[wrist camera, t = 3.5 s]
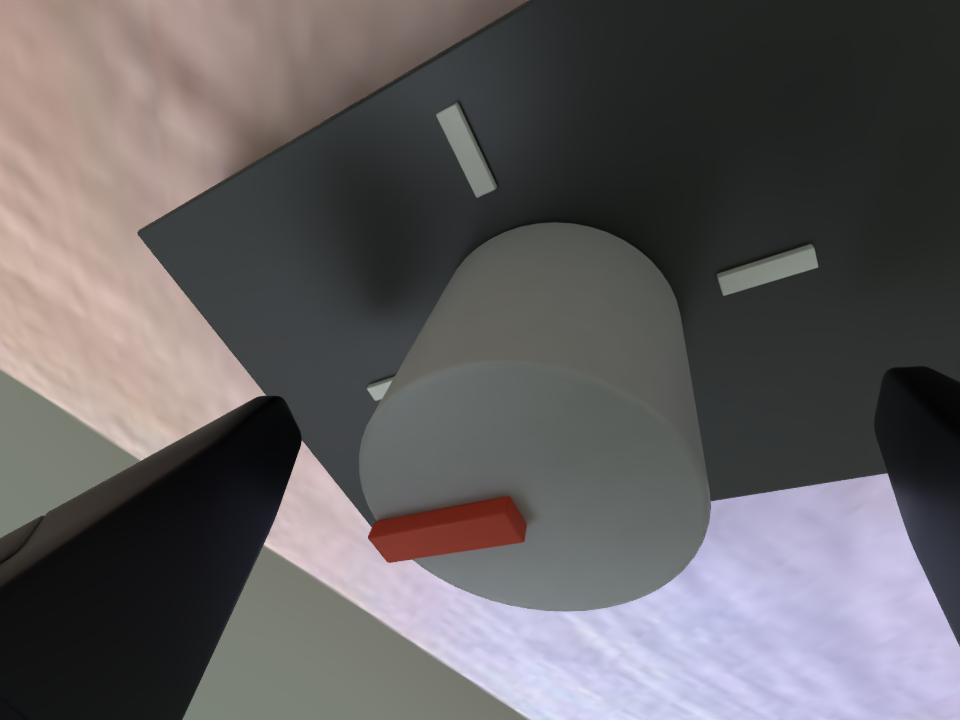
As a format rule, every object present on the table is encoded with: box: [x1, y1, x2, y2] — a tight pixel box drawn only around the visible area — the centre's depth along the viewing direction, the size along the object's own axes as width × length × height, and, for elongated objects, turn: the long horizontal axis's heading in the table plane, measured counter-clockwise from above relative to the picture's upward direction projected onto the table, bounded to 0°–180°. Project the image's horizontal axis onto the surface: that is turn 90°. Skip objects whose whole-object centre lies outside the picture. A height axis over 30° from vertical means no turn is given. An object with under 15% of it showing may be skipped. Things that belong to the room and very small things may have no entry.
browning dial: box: [359, 222, 711, 611], centre depth 9 cm, size 4×4×4 cm
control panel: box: [138, 0, 960, 527], centre depth 12 cm, size 14×10×3 cm
